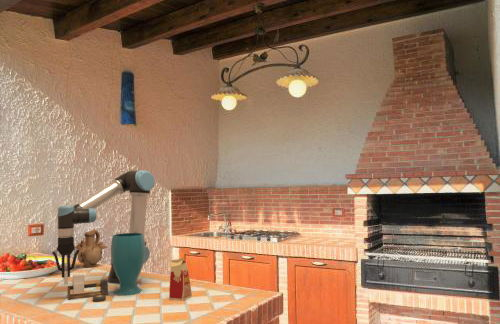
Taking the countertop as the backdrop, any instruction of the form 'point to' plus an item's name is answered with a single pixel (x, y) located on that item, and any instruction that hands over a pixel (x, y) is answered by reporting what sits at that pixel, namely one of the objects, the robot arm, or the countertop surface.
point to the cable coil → (99, 298)
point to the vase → (128, 261)
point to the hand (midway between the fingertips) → (65, 283)
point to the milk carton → (179, 281)
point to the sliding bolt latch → (103, 291)
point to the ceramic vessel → (90, 249)
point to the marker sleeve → (78, 283)
